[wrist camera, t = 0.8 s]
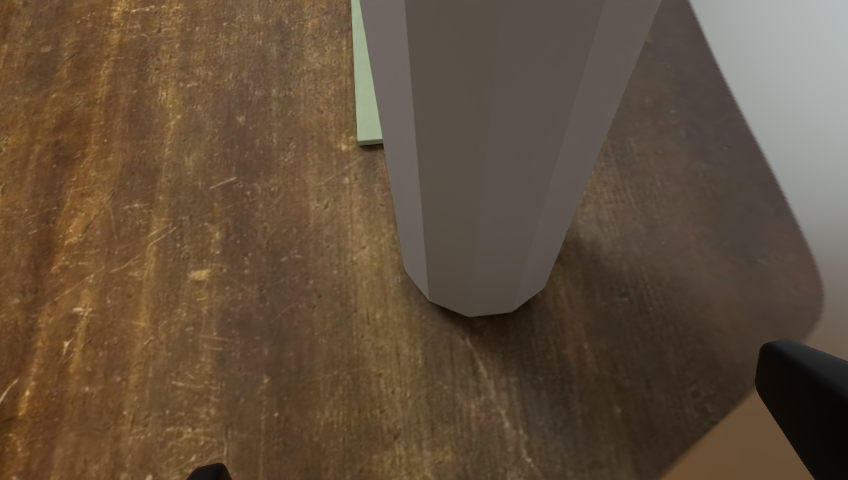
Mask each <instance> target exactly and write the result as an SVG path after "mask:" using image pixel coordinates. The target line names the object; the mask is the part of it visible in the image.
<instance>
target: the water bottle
mask: <svg viewBox="0 0 848 480" xmlns="http://www.w3.org/2000/svg"><path fill="white" fill-rule="evenodd" d="M359 2H360V7H361V13H362V19H363V25H364V31H365V37H366V43H367V49H368V55H369V61H370V67H371V73H372V79H373V85H374V91H375V97H376V103H377V109H378V115H379V121H380V127H381V133H382V139H383V145H384V151H385V157H386V163H387V169H388V174H389V180H390V186H391V192H392V198H393V204H394V210H395V216H396V222H397V228H398V234H399V240H400V246H401V252H402V258H403V264H404V270H405V271H406V272H407V274H408V275H409V276H410V278H411V279H412V280H413V281H414V283H415V284H416V285H417V286H418V288H419V289H420V290H421V292H422V293H423V294H424V295H425V297H426V298H427V299H428V300H429V301H430V302H433V303H435V304H437V305H440V306H442V307H445V308H447V309H450V310H452V311H455V312H457V313H460V314H462V315H465V316H467V317H474V316H483V315H492V314H500V313H509V312H513V311H514V310H515V309H517V308H518V307H519V306H521V305H522V304H524V303H525V302H526V301H528V300H529V299H530V298H532V297H533V296H534V295H536V294H537V293H538V292H540V291H541V290H542V289H544V288H545V286H546V283H547V281H548V278H549V276H550V273H551V271H552V268H553V266H554V263H555V261H556V259H557V256H558V254H559V251H560V249H561V246H562V244H563V241H564V239H565V236H566V234H567V232H568V229H569V227H570V224H571V222H572V219H573V217H574V214H575V212H576V209H577V207H578V204H579V202H580V200H581V197H582V195H583V192H584V190H585V187H586V185H587V182H588V180H589V177H590V175H591V173H592V170H593V168H594V165H595V163H596V160H597V158H598V155H599V153H600V150H601V148H602V145H603V143H604V141H605V138H606V136H607V133H608V131H609V128H610V126H611V123H612V121H613V118H614V116H615V114H616V111H617V109H618V106H619V104H620V101H621V99H622V96H623V94H624V91H625V89H626V86H627V84H628V82H629V79H630V77H631V74H632V72H633V69H634V67H635V64H636V62H637V59H638V57H639V55H640V52H641V50H642V47H643V45H644V42H645V40H646V37H647V35H648V32H649V30H650V27H651V25H652V23H653V20H654V18H655V15H656V13H657V10H658V8H659V5H660V3H661V0H359Z"/></svg>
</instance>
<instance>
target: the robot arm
mask: <svg viewBox="0 0 848 480" xmlns="http://www.w3.org/2000/svg"><path fill="white" fill-rule="evenodd" d="M755 385H756V389H757V392H758V394H759V396H760V397H761V399H762V401H763V402H764V404H765V405H766V407H767V408H768V410H769V411H770V413H771V414H772V416H773V418H774V419H775V421H776V422H777V424H778V425H779V427H780V428H781V430H782V431H783V433H784V434H785V436H786V437H787V439H788V440H789V442H790V444H791V445H792V446H793V448H794V450H795V451H796V453H797V454H798V456H799V457H800V459H801V461H802V462H803V464H804V465H805V466H806V468H807V469H808V471H809V472H810V474H811V475H812V476H813V478H814V479H815V480H848V361H846V360H843V359H840V358H838V357H835V356H832V355H830V354H827V353H825V352H822V351H819V350H817V349H814V348H811V347H809V346H806V345H803V344H801V343H798V342H796V341H793V340H789V339H783V340H778V341H773V342H769V343H765V344H763V346H762V347H761V348H760V352H759V358H758V364H757V370H756V377H755ZM187 480H232V479H231V477H230V474H229V472H228V470H227V468H226V466H225V465H224V464H222V463H215V464H211V465H206V466H201V467H198V468H196V469H195V470H194V471H193V472H192V473H191V475H190V476H189V477H188V478H187Z"/></svg>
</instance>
